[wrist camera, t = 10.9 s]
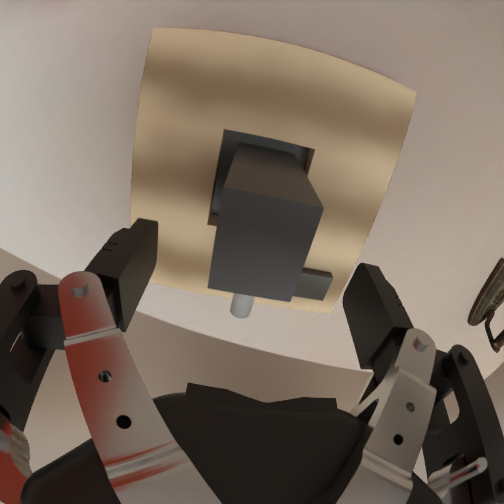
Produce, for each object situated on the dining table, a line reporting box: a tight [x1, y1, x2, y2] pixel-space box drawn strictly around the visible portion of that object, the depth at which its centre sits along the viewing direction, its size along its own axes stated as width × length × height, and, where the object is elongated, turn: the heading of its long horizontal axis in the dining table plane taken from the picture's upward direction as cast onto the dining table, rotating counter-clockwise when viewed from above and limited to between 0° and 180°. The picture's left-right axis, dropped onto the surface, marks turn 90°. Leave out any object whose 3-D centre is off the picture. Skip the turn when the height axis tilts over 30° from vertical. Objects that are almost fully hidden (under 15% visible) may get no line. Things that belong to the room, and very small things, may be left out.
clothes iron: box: [468, 258, 504, 353], centre depth 26 cm, size 7×11×10 cm, turn 161°
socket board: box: [130, 28, 418, 314], centre depth 20 cm, size 20×18×4 cm
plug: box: [207, 142, 324, 318], centre depth 17 cm, size 8×4×10 cm, turn 168°
